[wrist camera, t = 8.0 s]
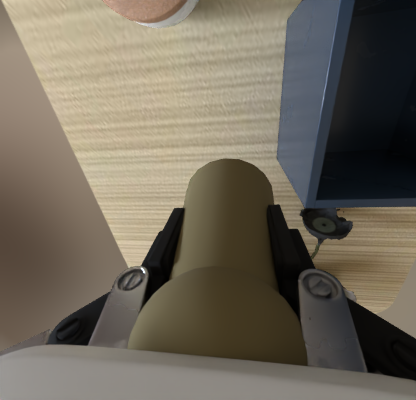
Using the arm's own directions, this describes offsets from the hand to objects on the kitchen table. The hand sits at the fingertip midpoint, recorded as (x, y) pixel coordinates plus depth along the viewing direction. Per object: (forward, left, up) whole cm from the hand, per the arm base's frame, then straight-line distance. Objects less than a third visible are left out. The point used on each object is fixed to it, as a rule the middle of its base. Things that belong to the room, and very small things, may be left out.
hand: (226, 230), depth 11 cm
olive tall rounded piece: (0, 0, -4) cm, 4 cm away
